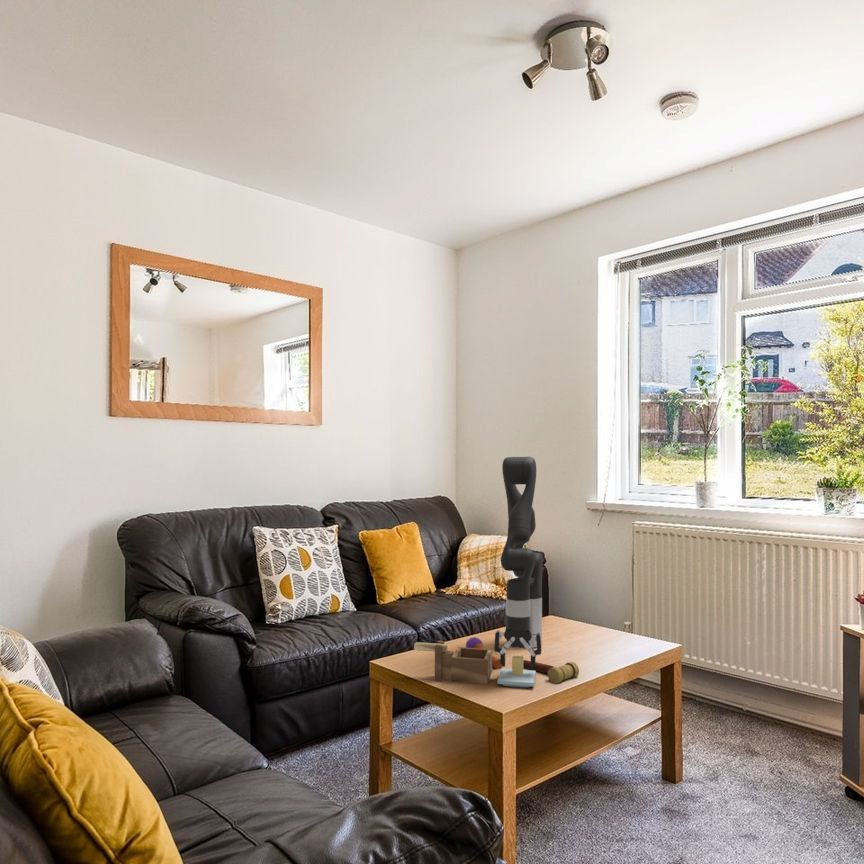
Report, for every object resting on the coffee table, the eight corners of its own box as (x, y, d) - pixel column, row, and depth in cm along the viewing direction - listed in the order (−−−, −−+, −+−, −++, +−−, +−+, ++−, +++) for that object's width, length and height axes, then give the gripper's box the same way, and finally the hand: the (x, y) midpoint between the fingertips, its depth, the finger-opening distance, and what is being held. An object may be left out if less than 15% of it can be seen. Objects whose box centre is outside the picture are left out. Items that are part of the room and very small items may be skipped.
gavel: (506, 658, 217) (526, 652, 224) (507, 672, 216) (527, 666, 223) (558, 669, 201) (578, 662, 208) (559, 685, 201) (579, 678, 208)
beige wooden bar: (415, 648, 208) (415, 642, 209) (447, 650, 206) (447, 644, 206) (414, 650, 206) (414, 644, 206) (446, 652, 204) (446, 646, 204)
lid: (501, 675, 209) (501, 652, 210) (535, 677, 207) (535, 654, 207) (497, 687, 198) (497, 663, 198) (533, 690, 196) (533, 665, 196)
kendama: (489, 658, 214) (461, 637, 232) (491, 676, 214) (464, 654, 233) (505, 652, 216) (477, 632, 234) (507, 670, 217) (479, 649, 235)
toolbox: (442, 668, 215) (442, 634, 216) (492, 671, 212) (492, 637, 213) (434, 680, 203) (434, 645, 204) (487, 684, 200) (487, 648, 200)
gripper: (541, 612, 208) (541, 664, 207) (496, 609, 211) (495, 661, 210) (540, 617, 201) (540, 672, 200) (493, 615, 204) (493, 669, 203)
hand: (517, 666), depth 205 cm, fingers open, 8 cm apart
